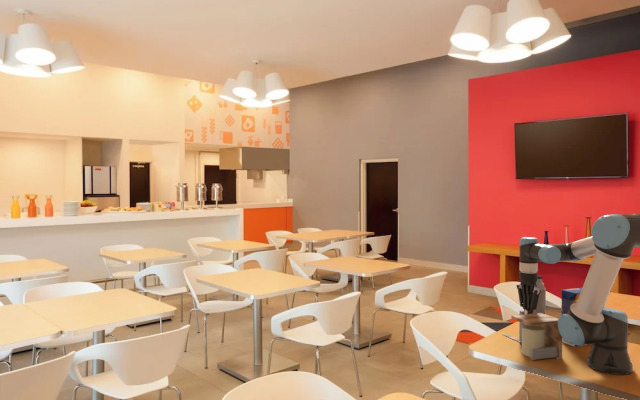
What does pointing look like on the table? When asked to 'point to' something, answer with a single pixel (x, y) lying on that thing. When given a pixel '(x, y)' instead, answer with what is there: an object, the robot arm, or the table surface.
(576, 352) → the table surface
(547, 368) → the table surface
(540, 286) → the thermos bottle
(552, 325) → the brown angular piece
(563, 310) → the juice carton
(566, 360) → the table surface
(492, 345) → the table surface
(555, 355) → the slider
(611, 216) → the robot arm
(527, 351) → the can
